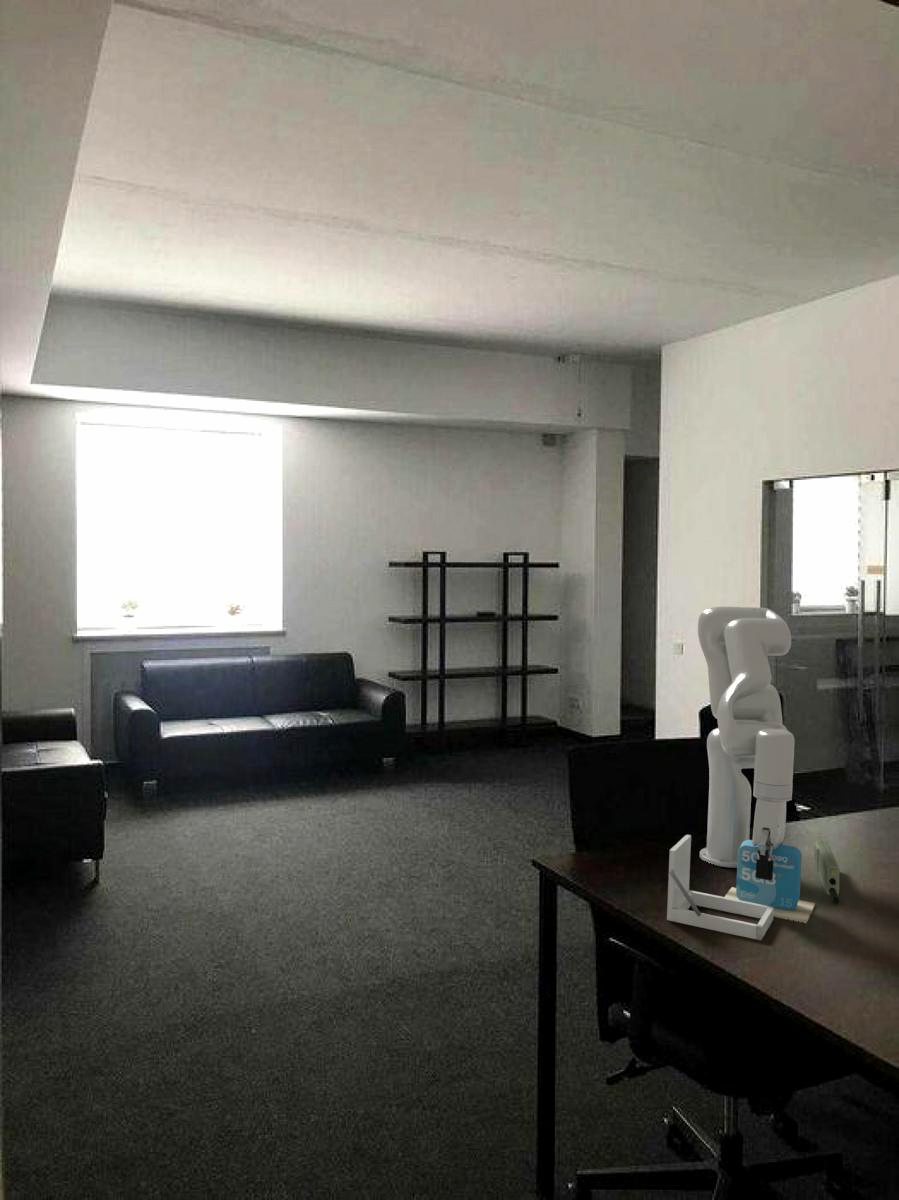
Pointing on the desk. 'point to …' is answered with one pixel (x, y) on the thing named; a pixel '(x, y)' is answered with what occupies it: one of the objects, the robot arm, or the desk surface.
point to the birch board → (797, 914)
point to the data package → (765, 892)
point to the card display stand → (709, 901)
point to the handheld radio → (827, 868)
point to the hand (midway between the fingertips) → (768, 871)
